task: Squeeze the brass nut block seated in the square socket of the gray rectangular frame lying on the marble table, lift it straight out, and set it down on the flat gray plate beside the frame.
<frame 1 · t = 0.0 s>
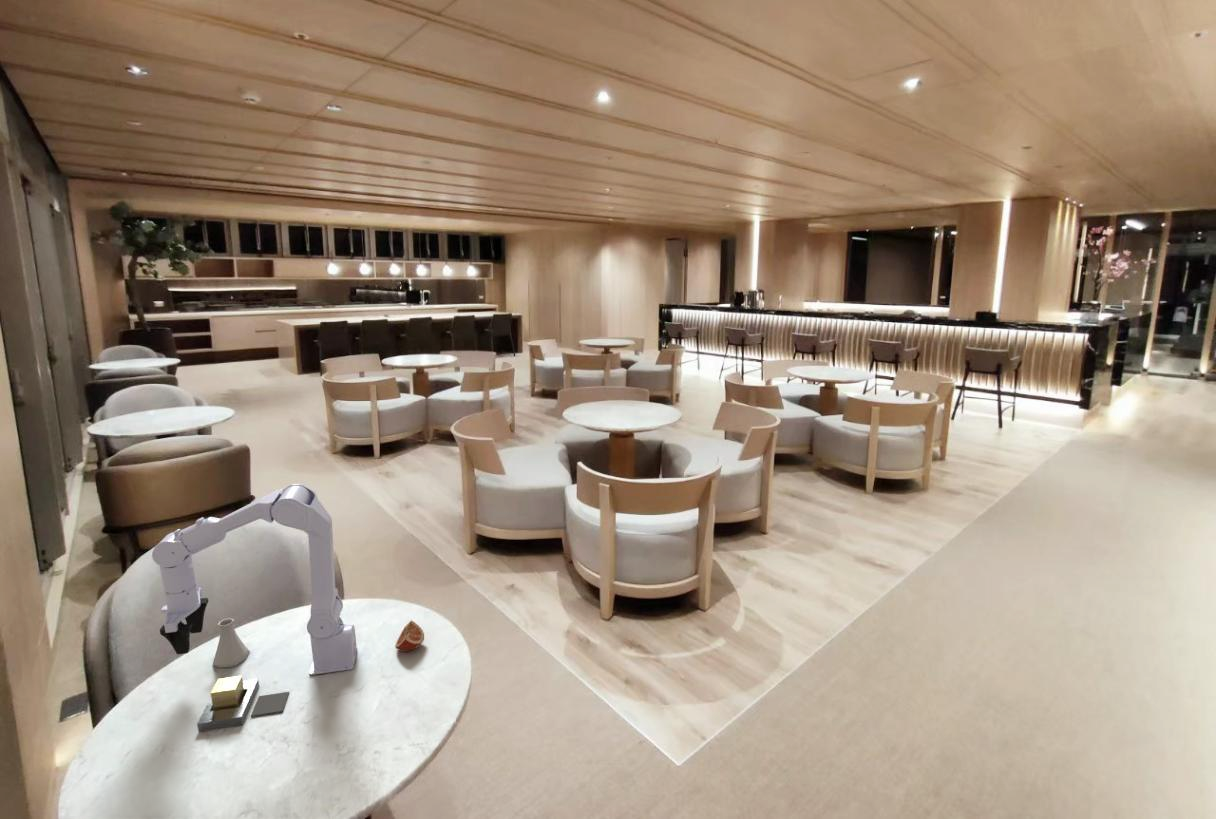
hand: (189, 642, 135), 10 cm above the table, fingers open, 7 cm apart
nut block: (230, 708, 130), resting in gray rectangular frame
flask: (231, 659, 146), on the table
gray rectangular frame: (230, 707, 130), on the table
flat gray plate: (270, 704, 131), on the table
fruit slice: (410, 647, 151), on the table
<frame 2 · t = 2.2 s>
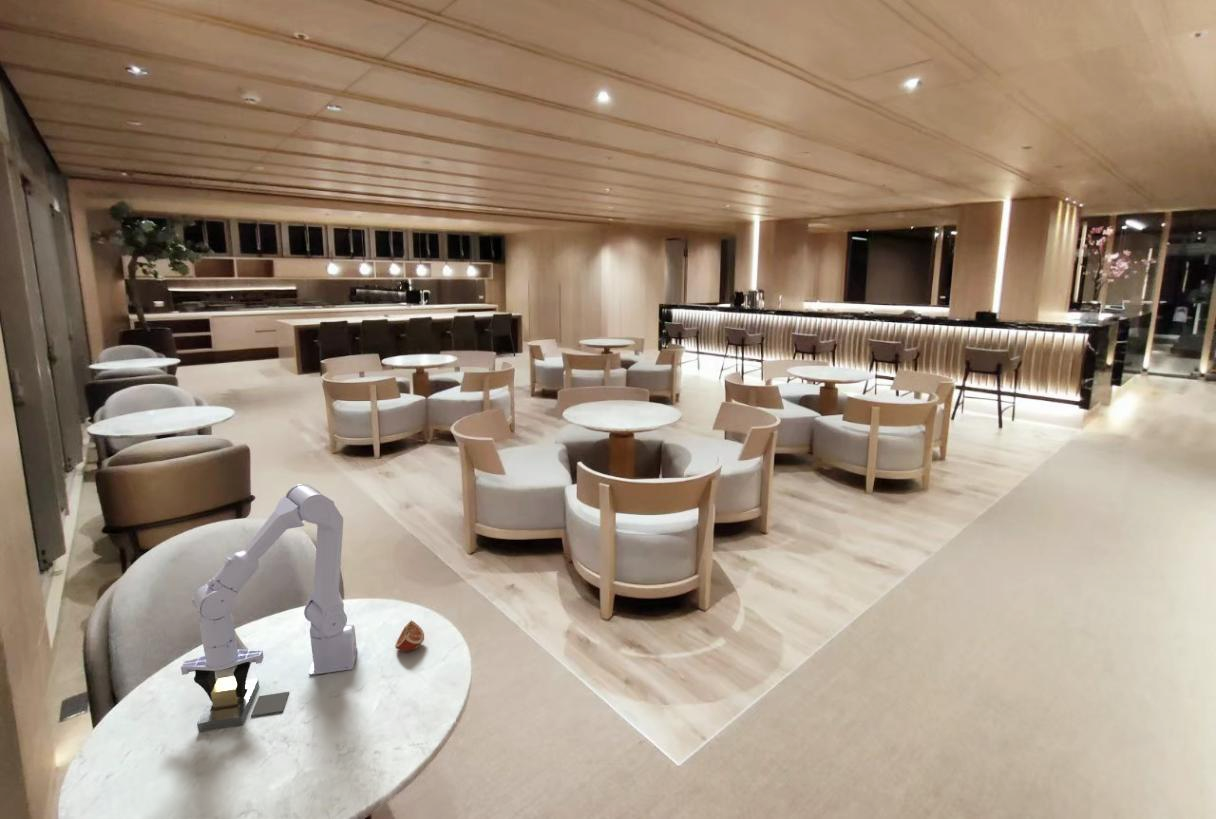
hand: (228, 695, 129), 3 cm above the table, fingers closed on nut block, 4 cm apart
nut block: (230, 708, 130), resting in gray rectangular frame, touching gripper
everything else where it was.
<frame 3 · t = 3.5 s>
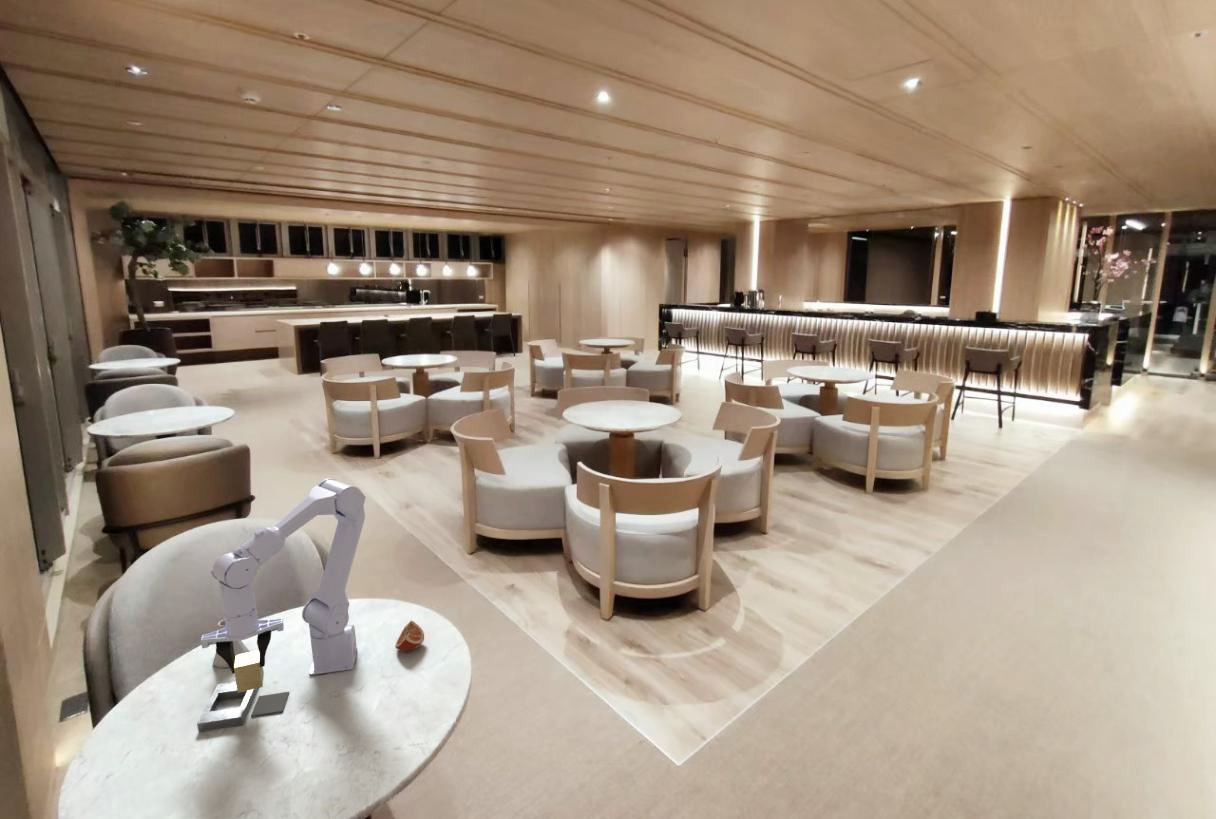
hand: (249, 667, 128), 10 cm above the table, fingers closed on nut block, 4 cm apart
nut block: (251, 683, 129), point 6 cm above the table, touching gripper
everything else where it was.
when the fingers open (4 cm above the table, at t = 5.2 s): nut block stays where it is, resting on flat gray plate.
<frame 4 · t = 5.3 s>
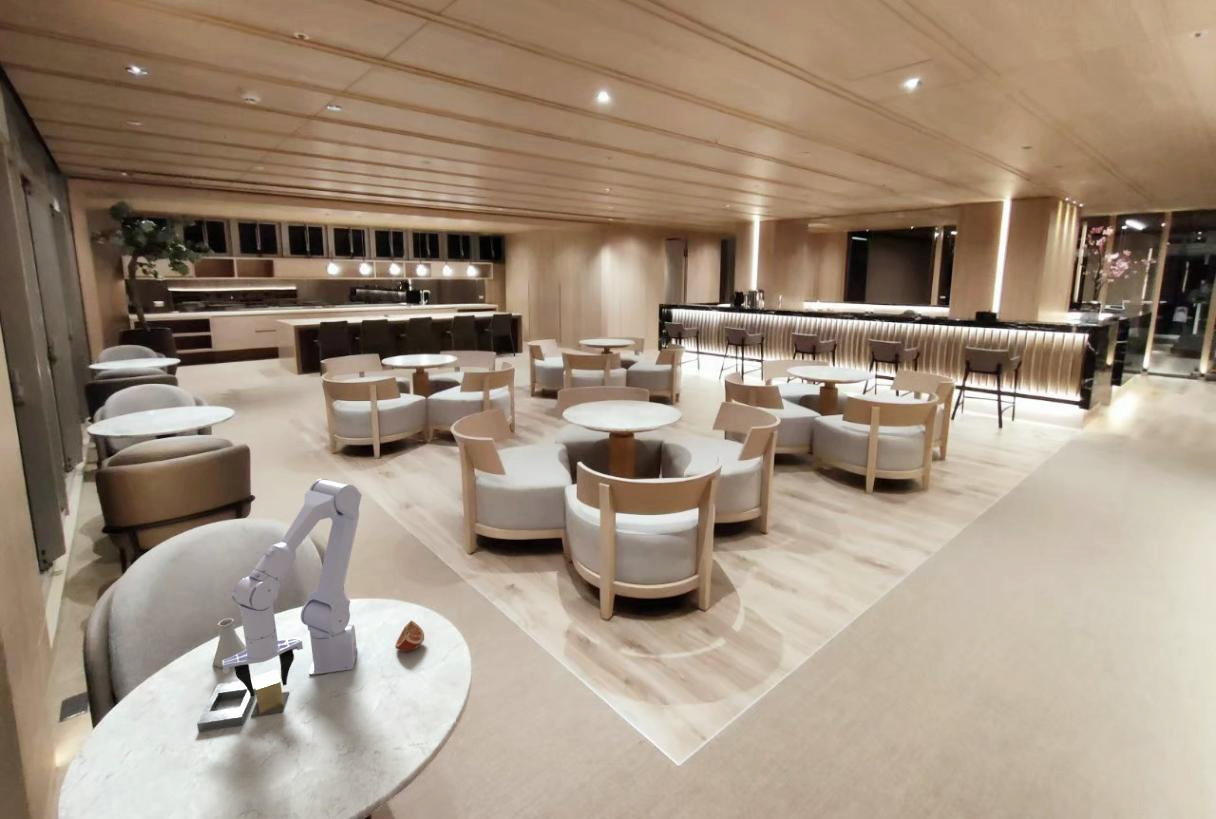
hand: (268, 688, 130), 4 cm above the table, fingers open, 5 cm apart
nut block: (270, 703, 131), resting on flat gray plate
everything else where it was.
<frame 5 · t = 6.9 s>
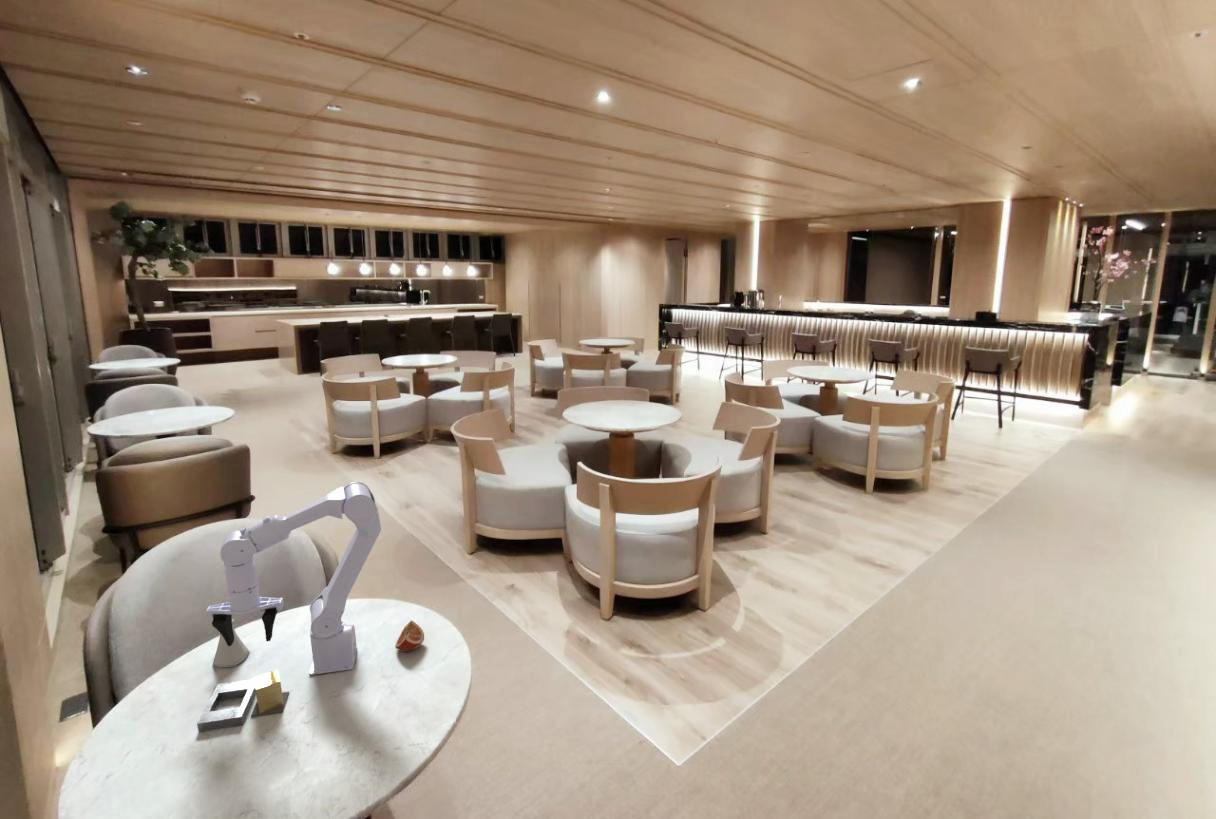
hand: (250, 641, 136), 10 cm above the table, fingers open, 7 cm apart
nothing on the table moved.
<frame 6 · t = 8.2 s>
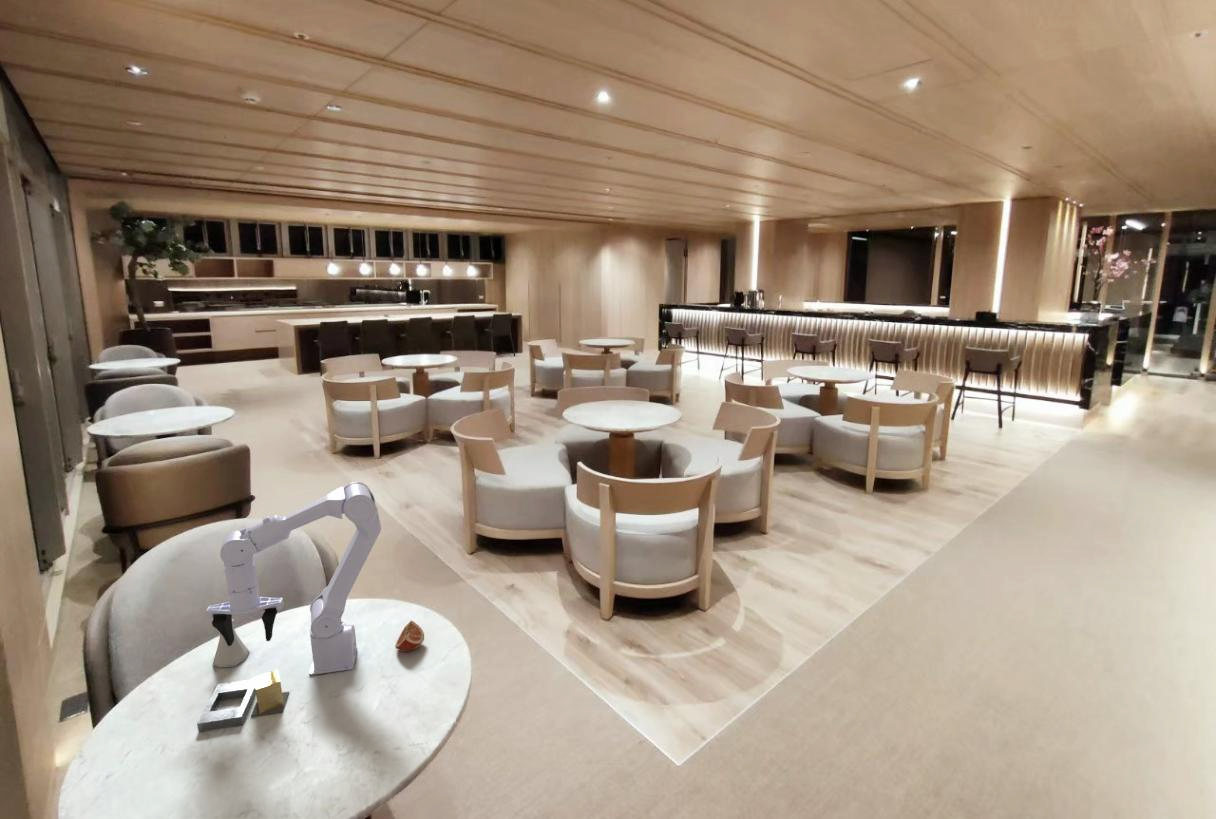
hand: (250, 640, 136), 10 cm above the table, fingers open, 7 cm apart
nothing on the table moved.
at the end: nut block inside the target area on the flat gray plate (0.1 cm from its centre), point 0.4 cm above the flat gray plate's base; nut block tilted 0°; nut block touching flat gray plate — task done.
